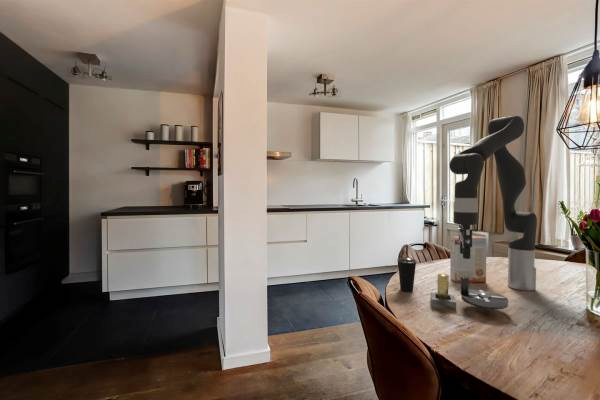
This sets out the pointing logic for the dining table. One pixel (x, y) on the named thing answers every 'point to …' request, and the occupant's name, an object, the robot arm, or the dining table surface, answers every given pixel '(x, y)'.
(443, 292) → the gold metallic cylinder
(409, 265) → the dark tapered cylinder
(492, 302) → the handwheel
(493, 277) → the dining table surface
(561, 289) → the dining table surface
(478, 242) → the cracker box
